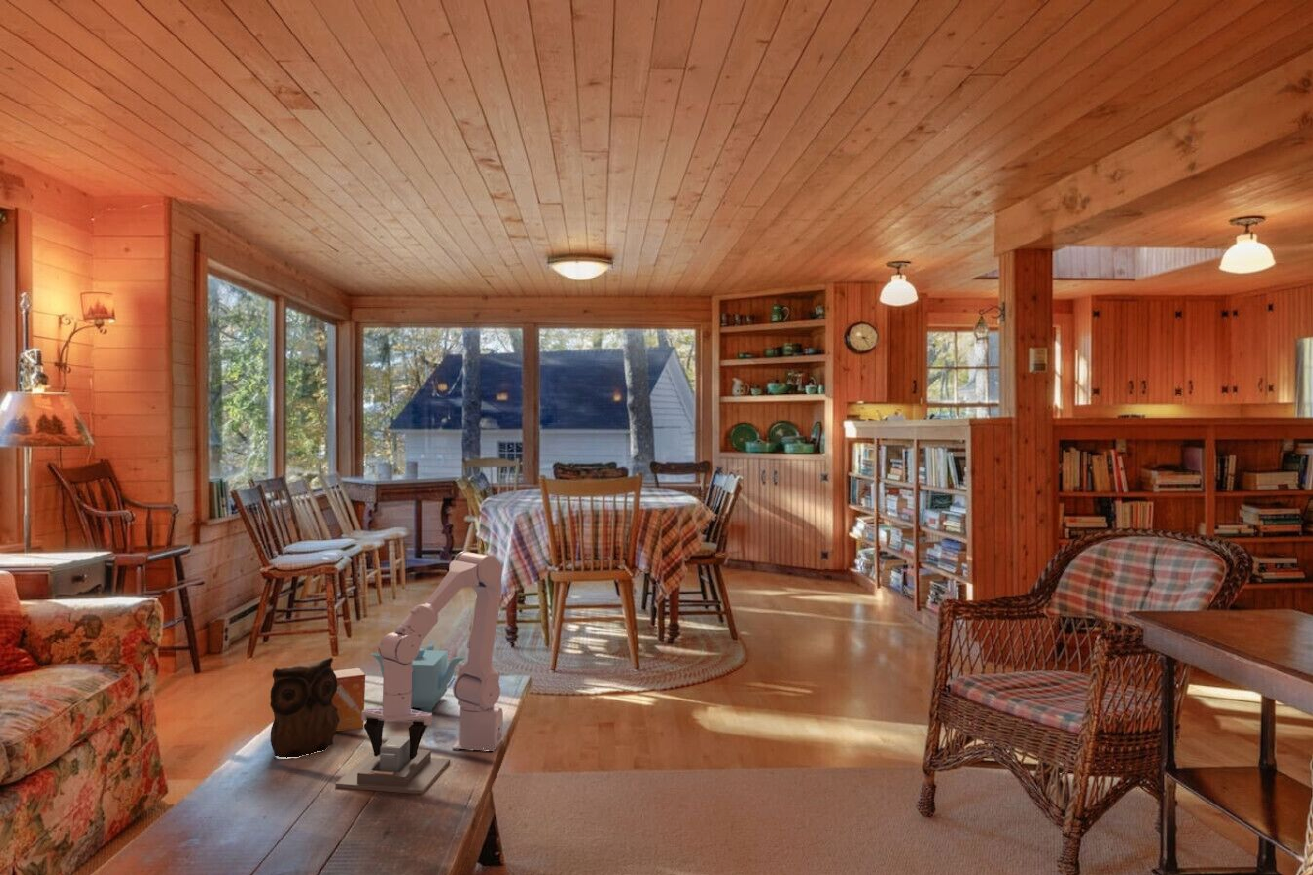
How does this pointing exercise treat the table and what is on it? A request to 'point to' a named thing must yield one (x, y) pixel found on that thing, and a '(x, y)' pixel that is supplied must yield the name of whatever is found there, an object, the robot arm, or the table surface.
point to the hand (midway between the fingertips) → (395, 755)
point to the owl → (303, 708)
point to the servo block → (395, 754)
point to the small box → (349, 698)
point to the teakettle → (429, 676)
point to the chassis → (395, 774)
